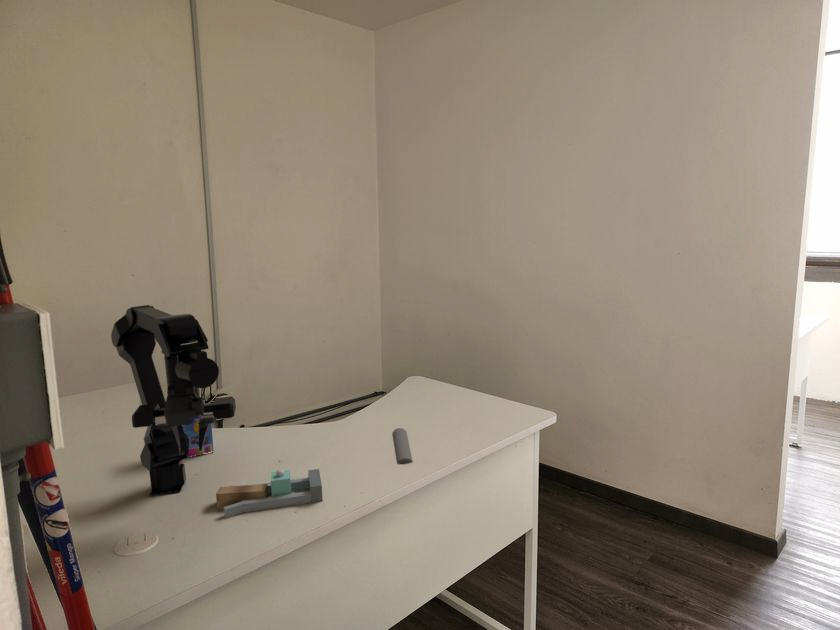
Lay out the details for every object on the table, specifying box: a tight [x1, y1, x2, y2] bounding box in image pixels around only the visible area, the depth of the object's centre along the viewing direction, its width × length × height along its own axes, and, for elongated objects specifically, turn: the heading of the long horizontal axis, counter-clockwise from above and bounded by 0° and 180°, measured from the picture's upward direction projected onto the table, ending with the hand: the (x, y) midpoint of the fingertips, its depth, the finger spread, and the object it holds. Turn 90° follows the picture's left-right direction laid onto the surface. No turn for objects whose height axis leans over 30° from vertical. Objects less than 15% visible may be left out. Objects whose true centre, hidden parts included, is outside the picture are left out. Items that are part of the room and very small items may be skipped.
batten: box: [215, 483, 270, 509], centre depth 115 cm, size 10×3×4 cm, turn 95°
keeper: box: [270, 469, 292, 497], centre depth 117 cm, size 4×4×6 cm
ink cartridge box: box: [182, 402, 215, 458], centre depth 139 cm, size 10×6×14 cm, turn 117°
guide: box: [223, 468, 323, 519], centre depth 117 cm, size 20×10×4 cm, turn 105°
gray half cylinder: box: [392, 427, 414, 464], centre depth 142 cm, size 4×20×2 cm, turn 6°
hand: (189, 451), depth 111 cm, fingers open, 4 cm apart
